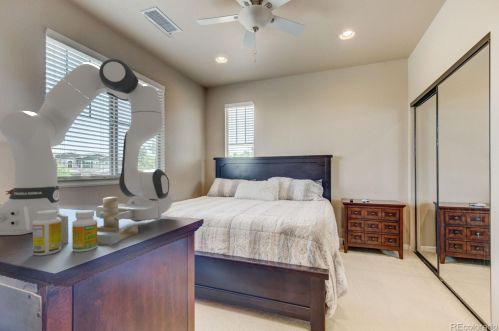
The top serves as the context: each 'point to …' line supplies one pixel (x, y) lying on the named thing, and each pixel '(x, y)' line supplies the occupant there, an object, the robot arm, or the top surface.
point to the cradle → (123, 232)
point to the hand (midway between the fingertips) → (108, 216)
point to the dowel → (110, 212)
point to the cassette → (64, 227)
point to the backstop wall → (107, 237)
